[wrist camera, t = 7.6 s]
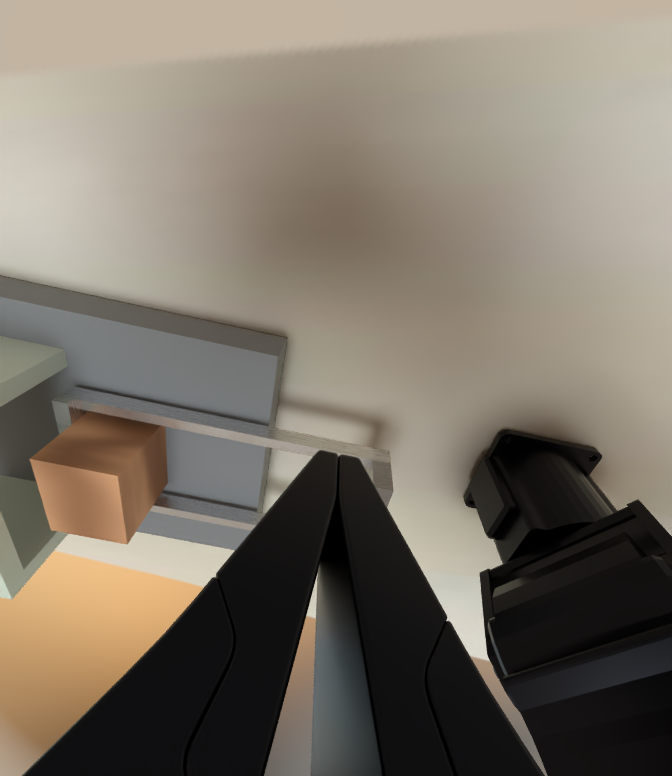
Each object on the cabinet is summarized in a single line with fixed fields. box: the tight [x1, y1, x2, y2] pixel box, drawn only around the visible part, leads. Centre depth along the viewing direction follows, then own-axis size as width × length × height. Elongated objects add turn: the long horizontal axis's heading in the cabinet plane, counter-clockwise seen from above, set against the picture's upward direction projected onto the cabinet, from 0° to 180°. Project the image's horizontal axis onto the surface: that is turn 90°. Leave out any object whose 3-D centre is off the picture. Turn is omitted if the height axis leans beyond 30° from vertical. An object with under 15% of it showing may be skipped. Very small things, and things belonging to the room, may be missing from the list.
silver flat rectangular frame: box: [52, 386, 393, 531], centre depth 20 cm, size 18×8×3 cm, turn 78°
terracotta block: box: [30, 411, 168, 544], centre depth 19 cm, size 4×5×4 cm
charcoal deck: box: [0, 276, 287, 550], centre depth 22 cm, size 26×16×2 cm, turn 78°
